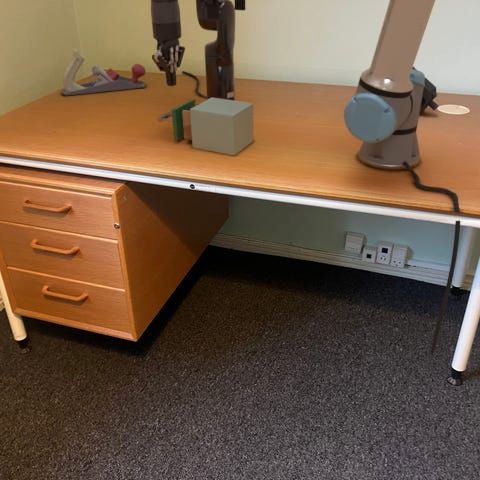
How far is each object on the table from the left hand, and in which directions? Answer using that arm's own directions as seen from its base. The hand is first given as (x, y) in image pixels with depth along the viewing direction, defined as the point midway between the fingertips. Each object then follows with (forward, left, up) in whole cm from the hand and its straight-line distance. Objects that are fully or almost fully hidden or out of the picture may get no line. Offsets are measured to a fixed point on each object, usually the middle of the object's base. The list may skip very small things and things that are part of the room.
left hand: (171, 85), depth 148 cm
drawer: (+3, +5, -14) cm, 15 cm away
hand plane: (-51, -29, -15) cm, 60 cm away
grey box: (+8, +14, -15) cm, 22 cm away
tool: (-15, +73, -15) cm, 76 cm away
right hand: (+9, +16, +20) cm, 27 cm away
